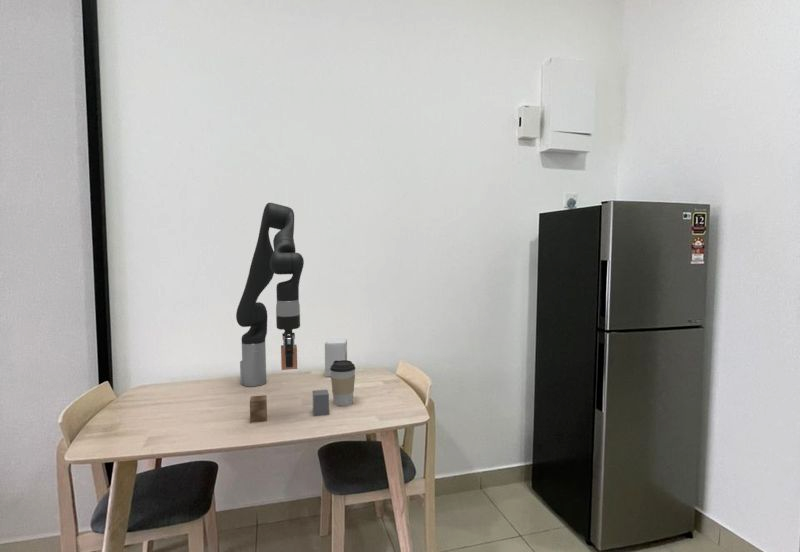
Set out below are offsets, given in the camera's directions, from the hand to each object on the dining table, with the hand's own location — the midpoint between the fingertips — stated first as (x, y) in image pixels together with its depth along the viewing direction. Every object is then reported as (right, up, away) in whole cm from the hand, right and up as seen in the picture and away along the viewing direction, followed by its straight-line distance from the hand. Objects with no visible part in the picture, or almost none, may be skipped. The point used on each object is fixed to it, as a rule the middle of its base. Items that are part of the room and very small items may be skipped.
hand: (289, 364), depth 143 cm
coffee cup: (+16, -17, +13) cm, 27 cm away
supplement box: (+9, -14, +48) cm, 50 cm away
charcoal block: (+10, -17, +4) cm, 20 cm away
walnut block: (-10, -18, -1) cm, 20 cm away
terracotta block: (0, -1, 0) cm, 1 cm away
